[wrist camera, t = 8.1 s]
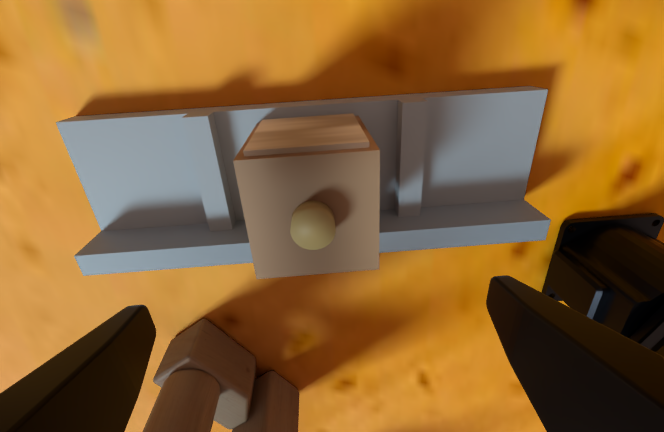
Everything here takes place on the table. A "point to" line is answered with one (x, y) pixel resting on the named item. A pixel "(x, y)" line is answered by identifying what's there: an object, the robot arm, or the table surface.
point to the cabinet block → (310, 195)
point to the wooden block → (218, 388)
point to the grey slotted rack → (239, 121)
